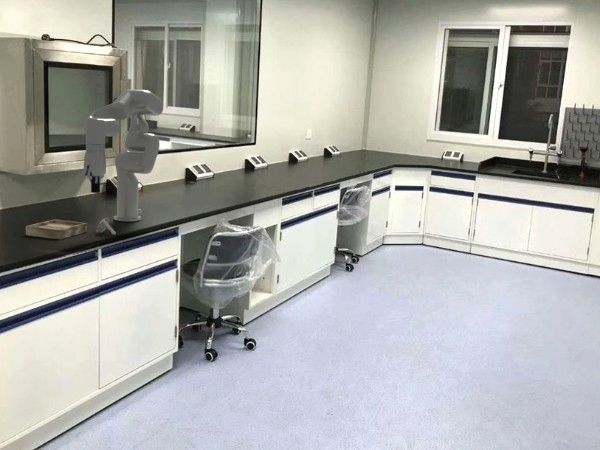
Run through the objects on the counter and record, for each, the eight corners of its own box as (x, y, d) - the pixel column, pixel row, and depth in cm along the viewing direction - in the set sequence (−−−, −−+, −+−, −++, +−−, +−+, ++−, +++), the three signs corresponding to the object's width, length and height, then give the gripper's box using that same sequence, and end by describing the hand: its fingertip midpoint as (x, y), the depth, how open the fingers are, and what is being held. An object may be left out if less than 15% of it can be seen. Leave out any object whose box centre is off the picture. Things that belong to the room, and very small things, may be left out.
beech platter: (54, 227, 258) (54, 219, 258) (87, 231, 254) (87, 223, 254) (25, 235, 241) (25, 226, 240) (60, 239, 237) (60, 230, 237)
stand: (94, 232, 252) (101, 218, 249) (103, 231, 256) (111, 217, 253) (105, 244, 250) (112, 230, 246) (114, 243, 254) (121, 229, 250)
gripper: (97, 147, 255) (97, 190, 258) (76, 148, 241) (77, 193, 244) (113, 148, 254) (113, 191, 257) (93, 149, 239) (93, 195, 242)
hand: (95, 192), depth 250 cm, fingers closed
